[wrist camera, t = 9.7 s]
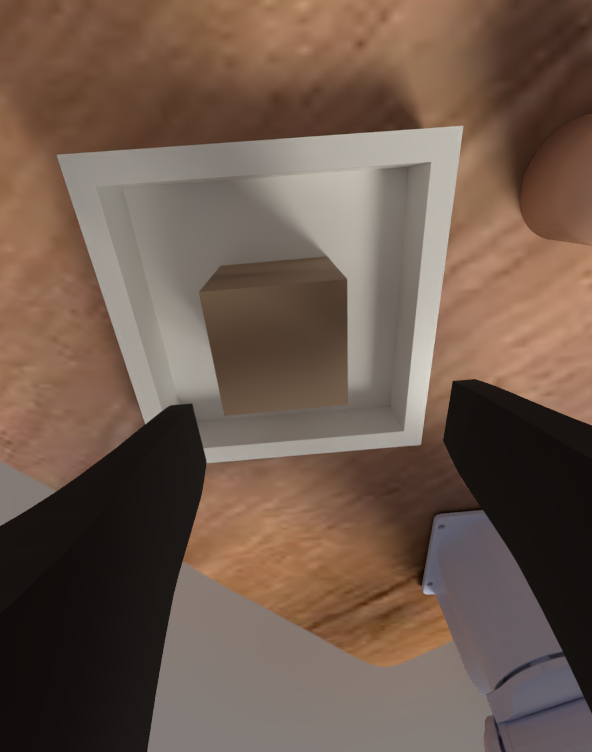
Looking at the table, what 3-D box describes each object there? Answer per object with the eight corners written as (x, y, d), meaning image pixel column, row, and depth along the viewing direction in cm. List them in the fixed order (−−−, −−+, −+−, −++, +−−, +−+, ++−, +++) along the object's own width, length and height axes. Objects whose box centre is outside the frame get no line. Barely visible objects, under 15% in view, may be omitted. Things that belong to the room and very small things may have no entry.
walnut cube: (330, 354, 18) (347, 404, 14) (237, 362, 18) (224, 415, 14) (327, 256, 16) (347, 279, 11) (220, 265, 16) (198, 291, 11)
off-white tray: (402, 413, 21) (420, 444, 18) (174, 432, 21) (159, 467, 18) (429, 139, 14) (463, 125, 12) (97, 162, 14) (56, 154, 12)
